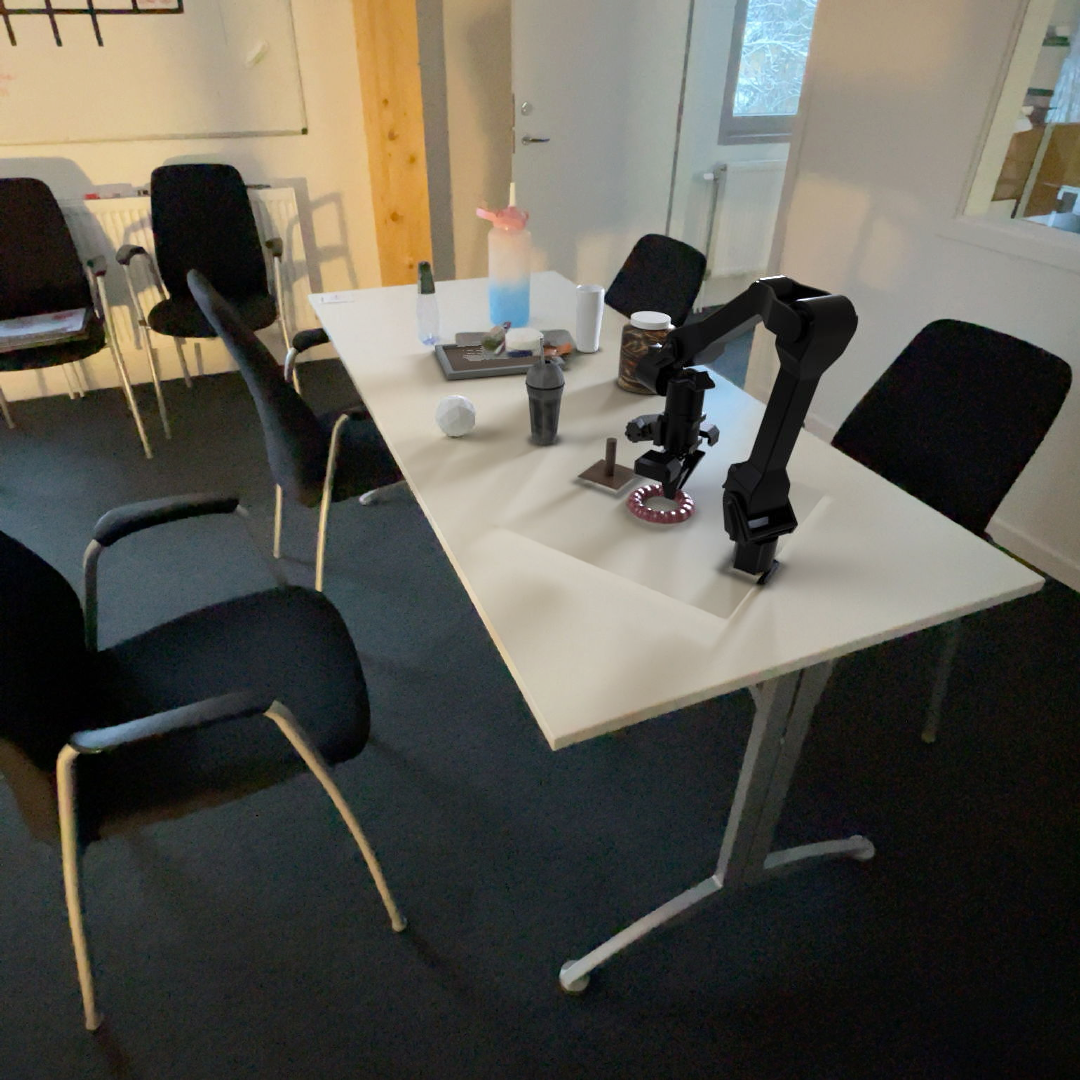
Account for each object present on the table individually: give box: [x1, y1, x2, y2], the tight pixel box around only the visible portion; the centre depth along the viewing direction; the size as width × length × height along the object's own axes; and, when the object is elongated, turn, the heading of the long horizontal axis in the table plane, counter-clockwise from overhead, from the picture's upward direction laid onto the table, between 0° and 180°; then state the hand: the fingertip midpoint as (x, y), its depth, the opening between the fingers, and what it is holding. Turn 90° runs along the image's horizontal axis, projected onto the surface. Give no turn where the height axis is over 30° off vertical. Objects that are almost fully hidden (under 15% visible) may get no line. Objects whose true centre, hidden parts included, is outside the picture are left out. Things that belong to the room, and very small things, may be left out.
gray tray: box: [434, 341, 566, 381], centre depth 176 cm, size 19×2×30 cm
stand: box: [577, 437, 638, 491], centre depth 127 cm, size 8×8×8 cm
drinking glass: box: [574, 283, 605, 354], centre depth 179 cm, size 7×7×15 cm
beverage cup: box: [524, 338, 566, 446], centre depth 136 cm, size 7×7×20 cm
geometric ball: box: [434, 394, 477, 438], centre depth 141 cm, size 8×8×8 cm
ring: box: [626, 484, 696, 525], centre depth 120 cm, size 11×11×2 cm
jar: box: [617, 310, 676, 395], centre depth 161 cm, size 12×12×15 cm
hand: (672, 495), depth 123 cm, fingers closed on ring, 2 cm apart
